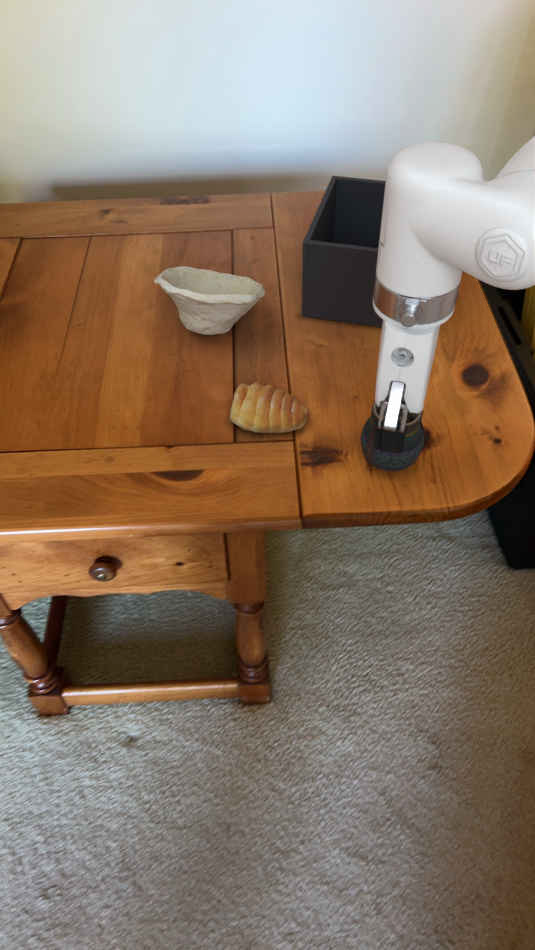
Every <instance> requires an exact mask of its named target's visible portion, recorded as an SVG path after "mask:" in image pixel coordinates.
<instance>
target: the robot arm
mask: <svg viewBox="0 0 535 950" xmlns="http://www.w3.org/2000/svg"><path fill="white" fill-rule="evenodd" d="M385 181H386V183H385V193H384V202H383V211H382V220H381V230H380V239H379V248H378V257H377V267H376V276H375V285H374V294H373V307H374V310H375V312H376V313H377V314H378V316H379V317H380V318H382V319H383V324H382V328H381V330H380V340H379V347H378V348H379V349H378V359H377V366H376V367H377V368H376V377H375V379H376V380H375V392H374V401H375V403H376V404H377V406H378V407H380V405H381V410H380V416H379V421H378V420H377V423H376V430H375V437H374V444H373V448H374V449H376V450H381V451H386V452H392V453H397V454H401V453H402V452H403V447H404V442H405V437H406V432H407V425H405V424H406V418H407V413H408V410H409V412H410V413H416V414H418V413H420V412H421V411H422V410H423V411H424V407H425V401H426V397H427V392H428V388H429V383H430V378H431V373H432V368H433V364H434V358H435V355H436V350H437V344H438V341H439V336H440V328H441V325H443V324H444V323H446V322H448V321H449V320H450V319H451V318H452V316H453V314H454V312H455V307H456V303H457V299H458V295H459V290H460V285H461V281H462V277H463V272H464V273H466V274H468V275H469V276H471V277H473V278H474V279H477V281H478V280H479V281H481V282H483V283H485V284H487V285H489V286H491V287H495V288H498V289H502V290H510V291H519V290H525V289H529V288H531V287H533V286H535V135H533V137H532V138H531V139H529V140H528V141H527V142H526V143H525V144H523V145H522V146H521V147H520V148H519V149H518V150H517V151H515V153H514V154H513V155H512V156H511V158H510V159H508V161H507V162H506V164H505V165H504V166H503V167H502V168H501V169H500V171H499V173H498V174H497V175H496V176H495V178H493V179H490V180H485V179H484V169H483V166H482V164H481V161H480V160H479V158H478V156H476V154H474V153H473V152H472V151H471V150H469V149H468V148H465V147H464V146H461V145H459V144H455V143H451V142H444V141H424V142H418V143H413V144H411V145H408V146H406V147H404V148H403V149H401V150H400V151H398V152H397V153H396V154H395V155H394V156H393V158H392V160H391V161H390V164H389V165H388V168H387V172H386V177H385ZM388 394H390V396H389V398H387V396H388ZM402 397H404V400H405V401H402ZM386 408H387V411H386ZM400 410H403V412H402V417H401V423H400V420H398V416H399V411H400ZM385 413H386V416H385Z"/></svg>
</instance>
